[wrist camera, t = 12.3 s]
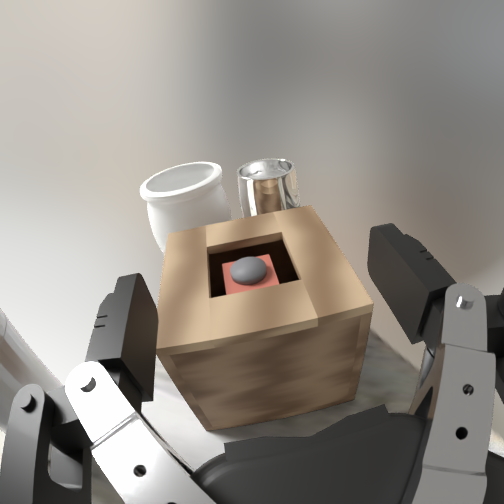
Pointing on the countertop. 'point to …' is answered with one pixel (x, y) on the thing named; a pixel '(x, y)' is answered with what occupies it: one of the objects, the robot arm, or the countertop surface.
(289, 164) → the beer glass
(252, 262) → the spice tin
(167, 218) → the jar
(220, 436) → the countertop surface
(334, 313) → the slot box
